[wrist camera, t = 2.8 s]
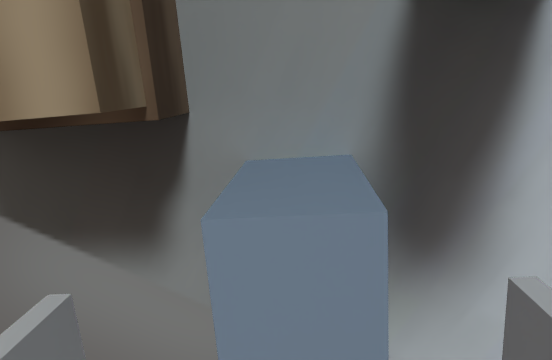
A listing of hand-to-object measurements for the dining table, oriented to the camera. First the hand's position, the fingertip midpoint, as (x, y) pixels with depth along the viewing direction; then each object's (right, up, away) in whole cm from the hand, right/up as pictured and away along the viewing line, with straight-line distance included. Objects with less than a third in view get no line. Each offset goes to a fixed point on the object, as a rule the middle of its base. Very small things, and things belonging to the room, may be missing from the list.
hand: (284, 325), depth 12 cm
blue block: (+1, +3, +11) cm, 11 cm away
